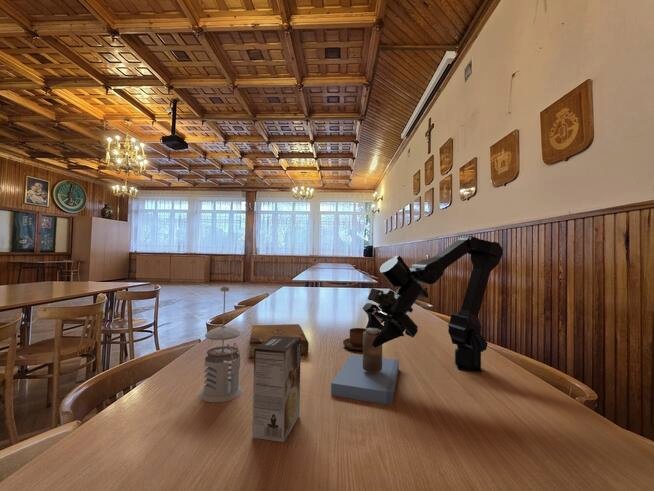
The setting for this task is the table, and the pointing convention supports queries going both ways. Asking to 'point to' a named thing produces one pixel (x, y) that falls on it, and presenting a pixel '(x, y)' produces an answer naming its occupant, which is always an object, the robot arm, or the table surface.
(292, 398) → the coffee box
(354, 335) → the cup and saucer
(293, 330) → the diary
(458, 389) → the table surface
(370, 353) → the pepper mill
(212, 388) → the french press
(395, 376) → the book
